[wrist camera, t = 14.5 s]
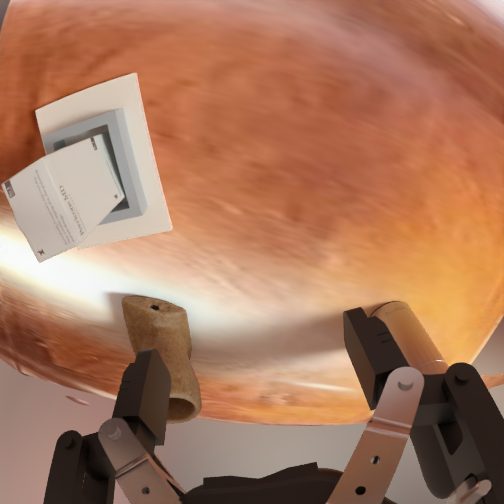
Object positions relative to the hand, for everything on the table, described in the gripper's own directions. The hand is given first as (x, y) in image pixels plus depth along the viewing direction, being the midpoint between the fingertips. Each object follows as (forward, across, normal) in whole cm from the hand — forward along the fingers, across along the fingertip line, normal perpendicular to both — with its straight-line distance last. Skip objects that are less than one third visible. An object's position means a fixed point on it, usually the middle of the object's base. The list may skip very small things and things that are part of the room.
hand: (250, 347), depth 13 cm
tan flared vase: (+29, +16, +21) cm, 39 cm away
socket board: (+28, +16, -6) cm, 33 cm away
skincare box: (+27, +16, -6) cm, 32 cm away
